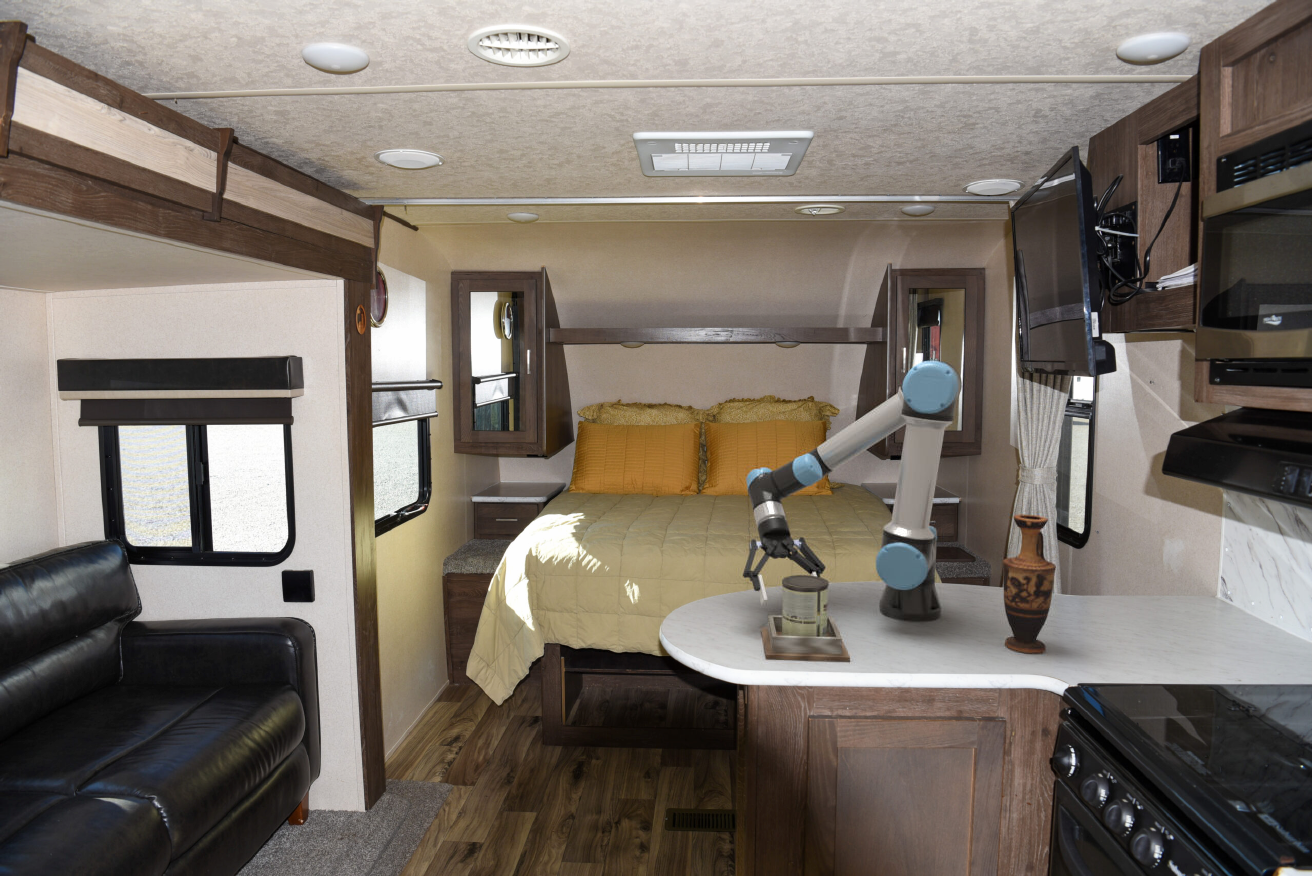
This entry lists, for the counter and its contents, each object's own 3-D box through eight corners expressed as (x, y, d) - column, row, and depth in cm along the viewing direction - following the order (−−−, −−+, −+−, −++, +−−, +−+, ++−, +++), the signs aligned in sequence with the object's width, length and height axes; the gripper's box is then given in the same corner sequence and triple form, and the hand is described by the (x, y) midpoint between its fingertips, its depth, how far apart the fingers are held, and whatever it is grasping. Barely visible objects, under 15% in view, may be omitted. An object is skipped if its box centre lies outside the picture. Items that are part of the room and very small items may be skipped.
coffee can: (779, 633, 190) (780, 574, 188) (824, 634, 189) (825, 575, 187) (782, 648, 179) (783, 586, 178) (829, 650, 178) (831, 587, 177)
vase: (1032, 659, 176) (1039, 524, 173) (988, 645, 185) (994, 515, 182) (1061, 650, 182) (1068, 518, 179) (1017, 636, 191) (1023, 510, 188)
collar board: (837, 633, 192) (838, 615, 192) (849, 661, 174) (850, 641, 174) (761, 631, 194) (761, 613, 193) (765, 659, 176) (766, 639, 175)
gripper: (814, 530, 208) (837, 605, 195) (720, 534, 203) (737, 611, 190) (823, 514, 202) (847, 590, 189) (727, 517, 197) (744, 595, 184)
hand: (792, 600), depth 190 cm, fingers open, 13 cm apart
